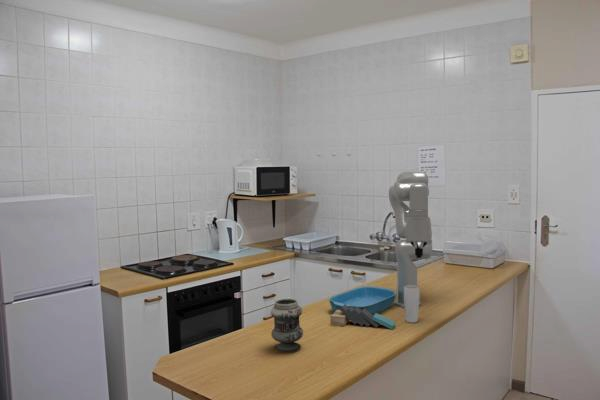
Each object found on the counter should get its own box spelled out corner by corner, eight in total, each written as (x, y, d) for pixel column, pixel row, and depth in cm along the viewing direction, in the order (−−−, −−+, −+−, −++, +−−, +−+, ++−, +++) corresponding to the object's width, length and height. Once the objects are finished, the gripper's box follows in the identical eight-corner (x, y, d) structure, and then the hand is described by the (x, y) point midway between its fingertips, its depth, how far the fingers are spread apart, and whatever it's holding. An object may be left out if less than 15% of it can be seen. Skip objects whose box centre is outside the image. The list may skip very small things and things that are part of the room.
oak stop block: (337, 318, 220) (337, 309, 220) (350, 319, 218) (350, 310, 218) (330, 325, 211) (330, 316, 211) (344, 326, 209) (343, 317, 209)
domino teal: (391, 329, 204) (371, 319, 207) (394, 325, 209) (374, 316, 211) (393, 326, 204) (373, 316, 206) (395, 322, 208) (376, 312, 211)
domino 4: (376, 328, 206) (359, 314, 208) (379, 324, 211) (362, 310, 213) (378, 325, 206) (361, 311, 208) (381, 321, 210) (364, 308, 213)
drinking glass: (408, 324, 210) (408, 289, 209) (401, 319, 216) (400, 285, 215) (422, 322, 212) (422, 288, 211) (414, 317, 218) (414, 284, 217)
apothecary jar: (286, 340, 194) (284, 295, 193) (310, 346, 187) (309, 299, 186) (265, 349, 185) (263, 302, 184) (289, 356, 177) (288, 307, 176)
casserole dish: (359, 324, 212) (359, 308, 212) (320, 314, 227) (320, 299, 227) (404, 305, 239) (404, 290, 239) (366, 297, 254) (366, 283, 254)
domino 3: (367, 327, 208) (351, 311, 210) (370, 323, 212) (354, 308, 214) (370, 324, 207) (354, 309, 209) (372, 320, 212) (357, 306, 214)
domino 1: (354, 324, 210) (339, 309, 212) (358, 321, 214) (342, 306, 216) (357, 322, 209) (341, 307, 211) (360, 318, 214) (345, 303, 216)
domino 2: (361, 326, 209) (345, 311, 211) (364, 322, 213) (349, 307, 215) (363, 323, 208) (348, 308, 210) (366, 320, 213) (351, 305, 215)
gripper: (399, 214, 204) (399, 258, 205) (436, 215, 198) (436, 260, 200) (402, 212, 211) (402, 255, 212) (438, 213, 205) (438, 256, 207)
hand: (419, 257), depth 206 cm, fingers closed
